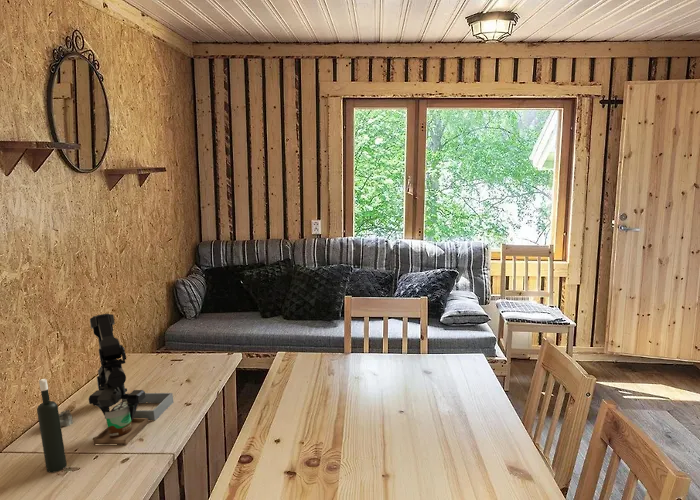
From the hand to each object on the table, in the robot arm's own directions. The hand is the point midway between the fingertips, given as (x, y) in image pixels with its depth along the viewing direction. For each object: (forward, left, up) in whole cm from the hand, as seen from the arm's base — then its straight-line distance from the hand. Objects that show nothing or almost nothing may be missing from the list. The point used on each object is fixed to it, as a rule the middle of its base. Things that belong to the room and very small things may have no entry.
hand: (120, 419), depth 200 cm
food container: (+1, 0, -5) cm, 5 cm away
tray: (0, 0, -6) cm, 6 cm away
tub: (0, +18, -6) cm, 19 cm away
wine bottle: (-10, -23, -6) cm, 25 cm away
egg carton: (-30, +6, -6) cm, 31 cm away
